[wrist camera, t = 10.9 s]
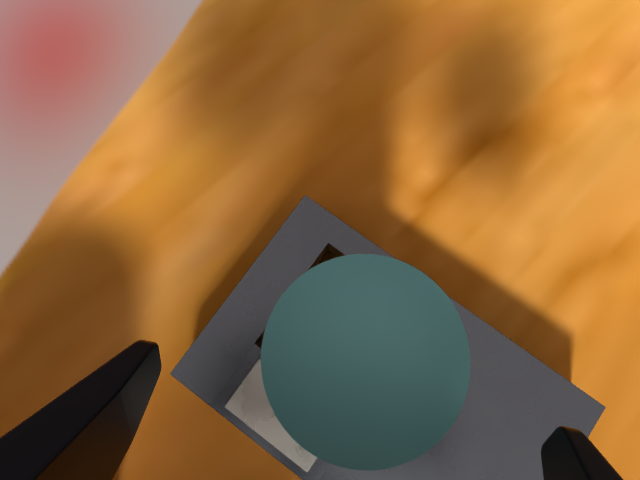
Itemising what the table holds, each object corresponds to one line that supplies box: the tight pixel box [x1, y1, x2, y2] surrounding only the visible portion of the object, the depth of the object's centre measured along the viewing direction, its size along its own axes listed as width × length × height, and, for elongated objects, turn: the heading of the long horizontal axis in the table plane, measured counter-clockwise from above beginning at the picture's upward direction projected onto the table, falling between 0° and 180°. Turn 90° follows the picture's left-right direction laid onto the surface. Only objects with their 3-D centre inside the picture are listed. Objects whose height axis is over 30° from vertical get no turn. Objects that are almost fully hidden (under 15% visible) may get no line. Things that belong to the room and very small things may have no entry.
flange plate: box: [170, 195, 605, 480], centre depth 19 cm, size 10×16×3 cm, turn 54°
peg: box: [261, 254, 471, 471], centre depth 14 cm, size 4×4×13 cm
